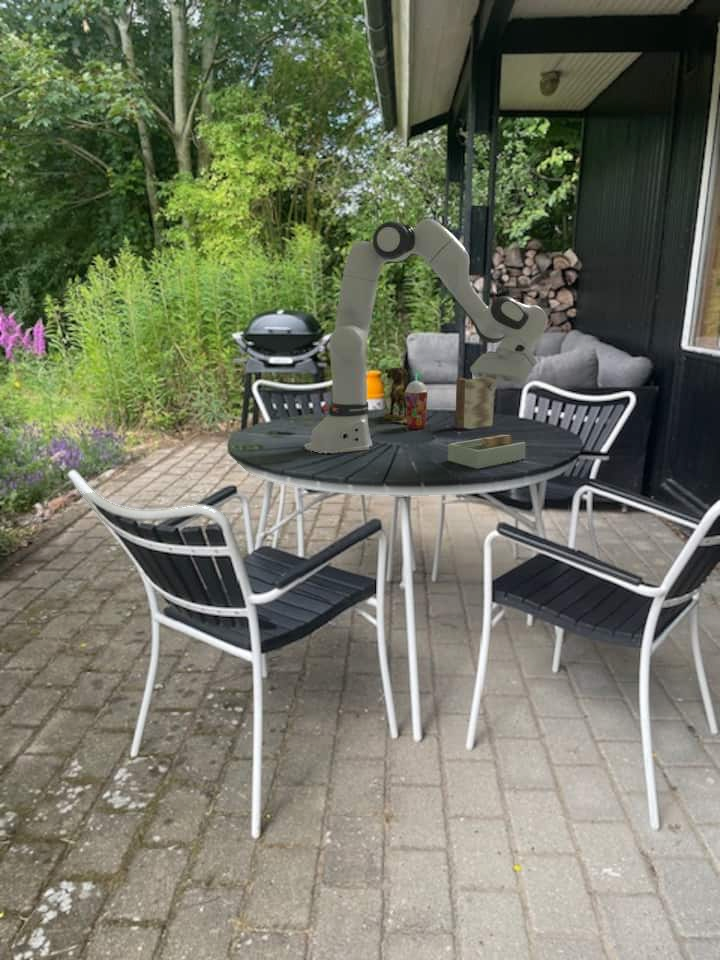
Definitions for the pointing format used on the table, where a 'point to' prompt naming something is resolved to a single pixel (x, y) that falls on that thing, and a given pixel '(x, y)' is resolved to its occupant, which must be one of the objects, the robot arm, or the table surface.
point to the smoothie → (416, 404)
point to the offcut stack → (496, 441)
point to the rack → (484, 453)
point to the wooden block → (460, 403)
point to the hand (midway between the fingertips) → (485, 389)
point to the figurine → (397, 395)
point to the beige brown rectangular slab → (478, 403)
